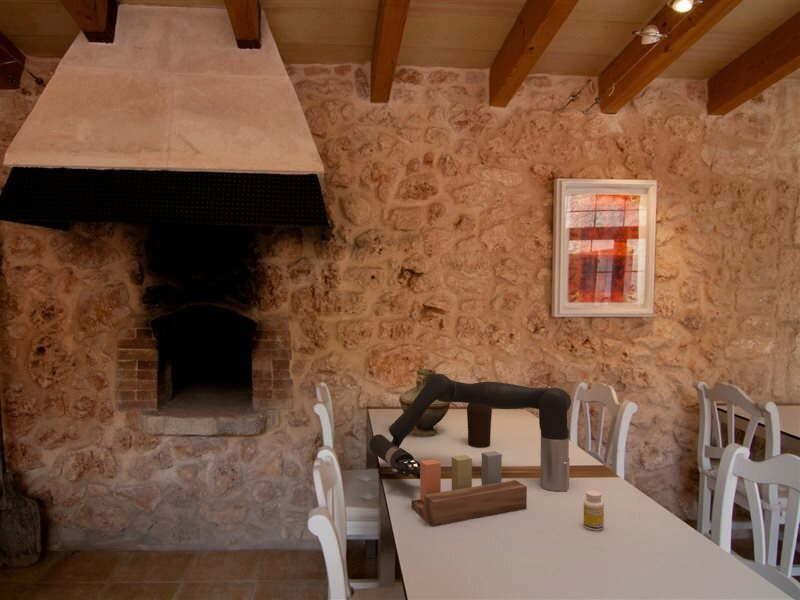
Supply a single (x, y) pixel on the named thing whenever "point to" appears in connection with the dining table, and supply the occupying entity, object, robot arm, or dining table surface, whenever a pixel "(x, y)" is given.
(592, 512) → the supplement bottle
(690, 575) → the dining table surface
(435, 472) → the terracotta key
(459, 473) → the khaki rectangular block
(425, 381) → the amphora
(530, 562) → the dining table surface
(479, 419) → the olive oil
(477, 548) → the dining table surface
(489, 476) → the slate key
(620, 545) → the dining table surface
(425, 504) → the console
